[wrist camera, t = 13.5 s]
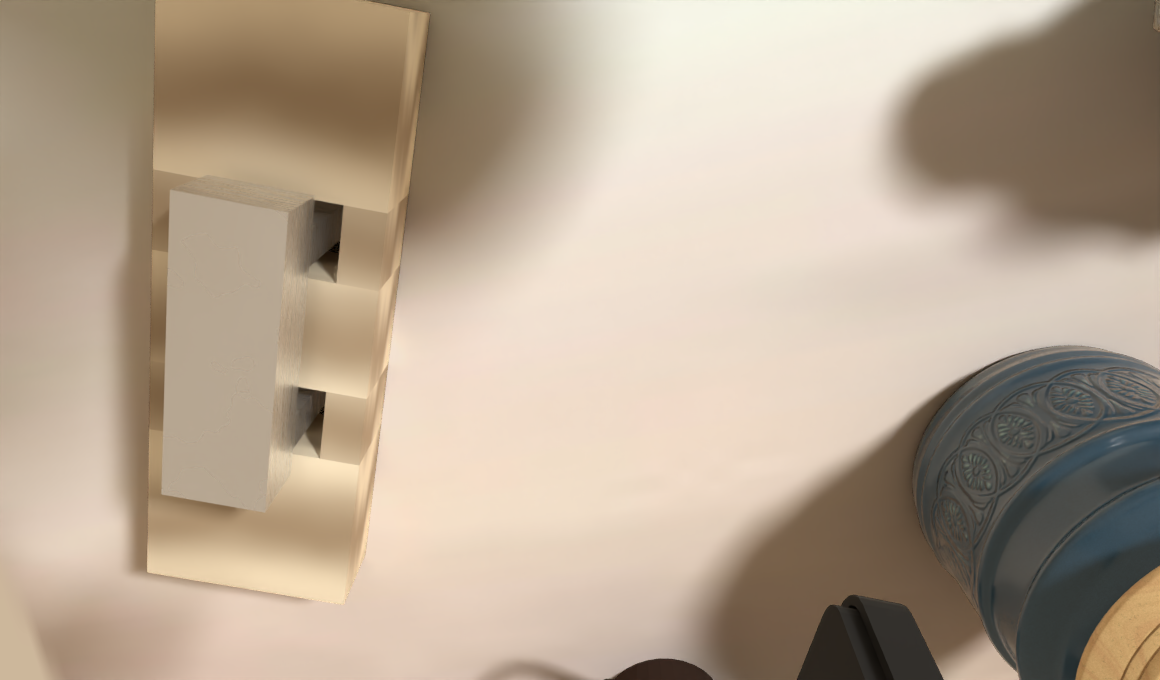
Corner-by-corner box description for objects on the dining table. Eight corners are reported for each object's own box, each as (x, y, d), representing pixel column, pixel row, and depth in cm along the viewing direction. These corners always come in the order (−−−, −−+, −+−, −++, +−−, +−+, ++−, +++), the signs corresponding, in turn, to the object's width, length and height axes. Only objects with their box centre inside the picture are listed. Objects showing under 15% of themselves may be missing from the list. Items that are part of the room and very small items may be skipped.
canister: (847, 478, 41) (1016, 783, 25) (1061, 280, 38) (1424, 483, 21) (1025, 622, 44) (1283, 982, 28) (1240, 451, 41) (1684, 747, 24)
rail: (204, -33, 34) (156, -39, 30) (430, 13, 34) (410, 12, 31) (186, 524, 43) (146, 572, 39) (365, 554, 43) (343, 604, 40)
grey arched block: (257, 154, 36) (170, 189, 29) (351, 173, 37) (288, 212, 29) (241, 407, 41) (161, 494, 33) (325, 422, 41) (265, 512, 33)
